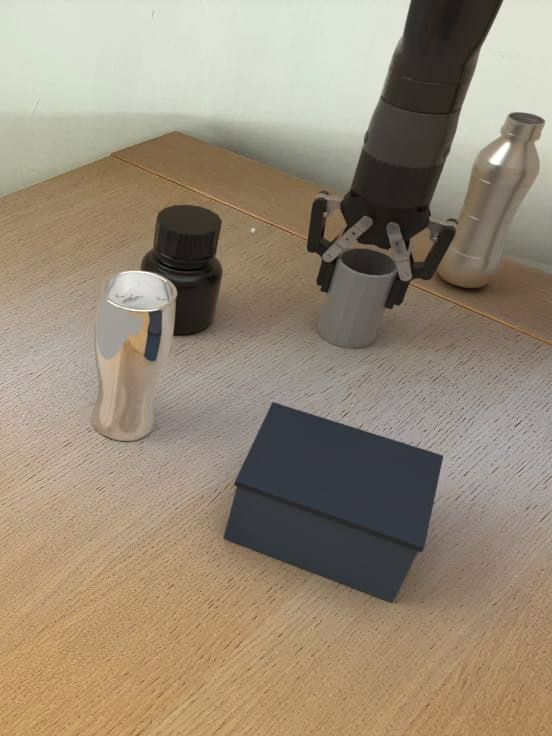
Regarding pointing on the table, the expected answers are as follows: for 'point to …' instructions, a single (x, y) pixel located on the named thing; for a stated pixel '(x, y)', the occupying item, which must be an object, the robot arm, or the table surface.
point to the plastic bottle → (493, 201)
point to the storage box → (334, 500)
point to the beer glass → (131, 350)
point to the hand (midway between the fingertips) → (356, 296)
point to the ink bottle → (188, 262)
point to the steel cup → (357, 297)
